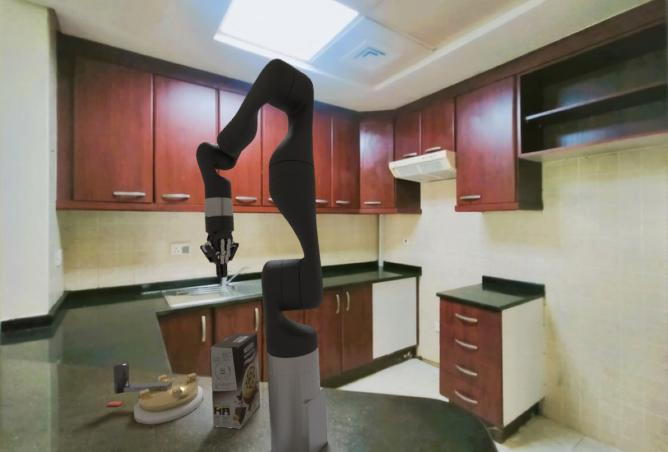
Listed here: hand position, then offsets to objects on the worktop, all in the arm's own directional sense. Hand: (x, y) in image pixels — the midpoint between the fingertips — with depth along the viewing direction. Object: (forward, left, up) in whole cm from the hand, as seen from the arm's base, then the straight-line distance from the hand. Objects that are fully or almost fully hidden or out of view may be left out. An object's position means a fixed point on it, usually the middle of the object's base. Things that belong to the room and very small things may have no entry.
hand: (222, 277), depth 86 cm
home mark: (+14, +21, -27) cm, 37 cm away
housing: (+1, +16, -27) cm, 31 cm away
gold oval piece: (+4, +17, -25) cm, 31 cm away
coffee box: (-17, +13, -27) cm, 35 cm away
